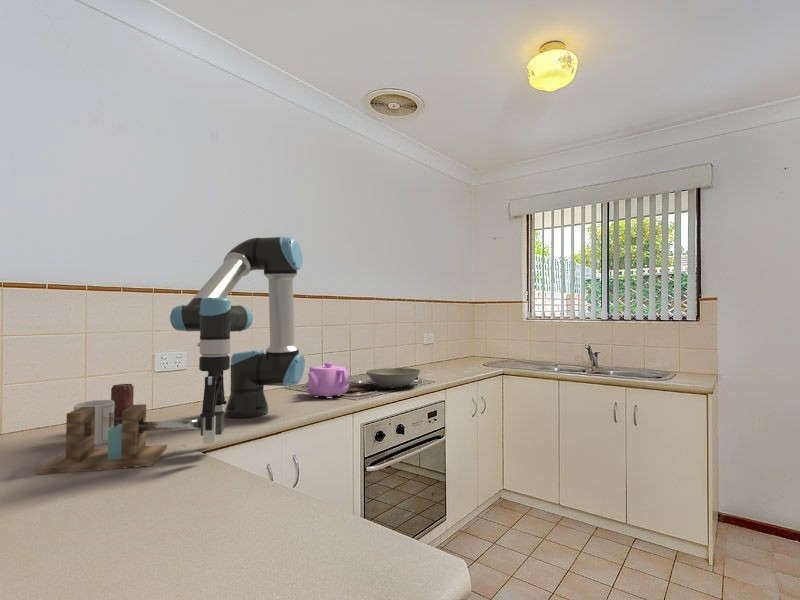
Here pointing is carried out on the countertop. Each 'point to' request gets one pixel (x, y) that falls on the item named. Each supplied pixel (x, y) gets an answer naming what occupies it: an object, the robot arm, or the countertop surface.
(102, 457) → the block
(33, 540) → the countertop surface
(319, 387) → the teapot
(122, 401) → the can
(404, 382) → the bowl
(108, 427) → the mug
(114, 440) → the block
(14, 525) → the countertop surface
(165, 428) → the shaft
